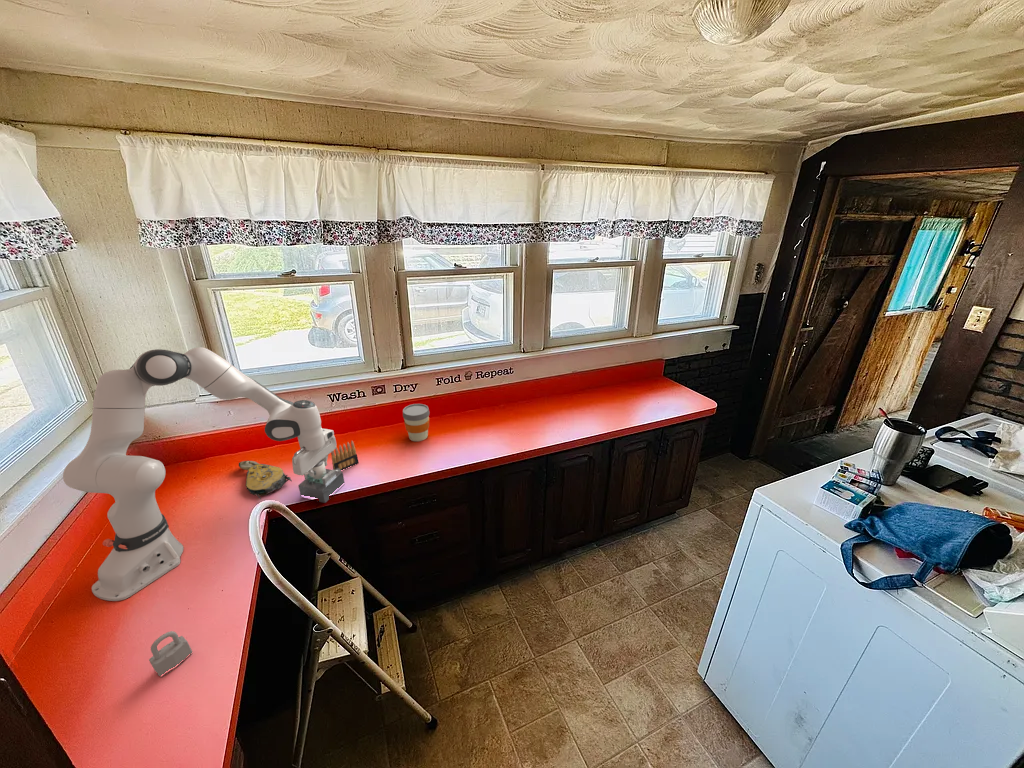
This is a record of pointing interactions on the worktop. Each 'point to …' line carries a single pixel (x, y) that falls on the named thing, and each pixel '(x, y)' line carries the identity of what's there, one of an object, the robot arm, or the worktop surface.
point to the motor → (322, 485)
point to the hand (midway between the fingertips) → (318, 470)
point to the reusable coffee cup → (416, 421)
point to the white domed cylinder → (319, 470)
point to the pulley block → (263, 477)
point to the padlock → (169, 652)
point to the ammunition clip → (344, 457)
